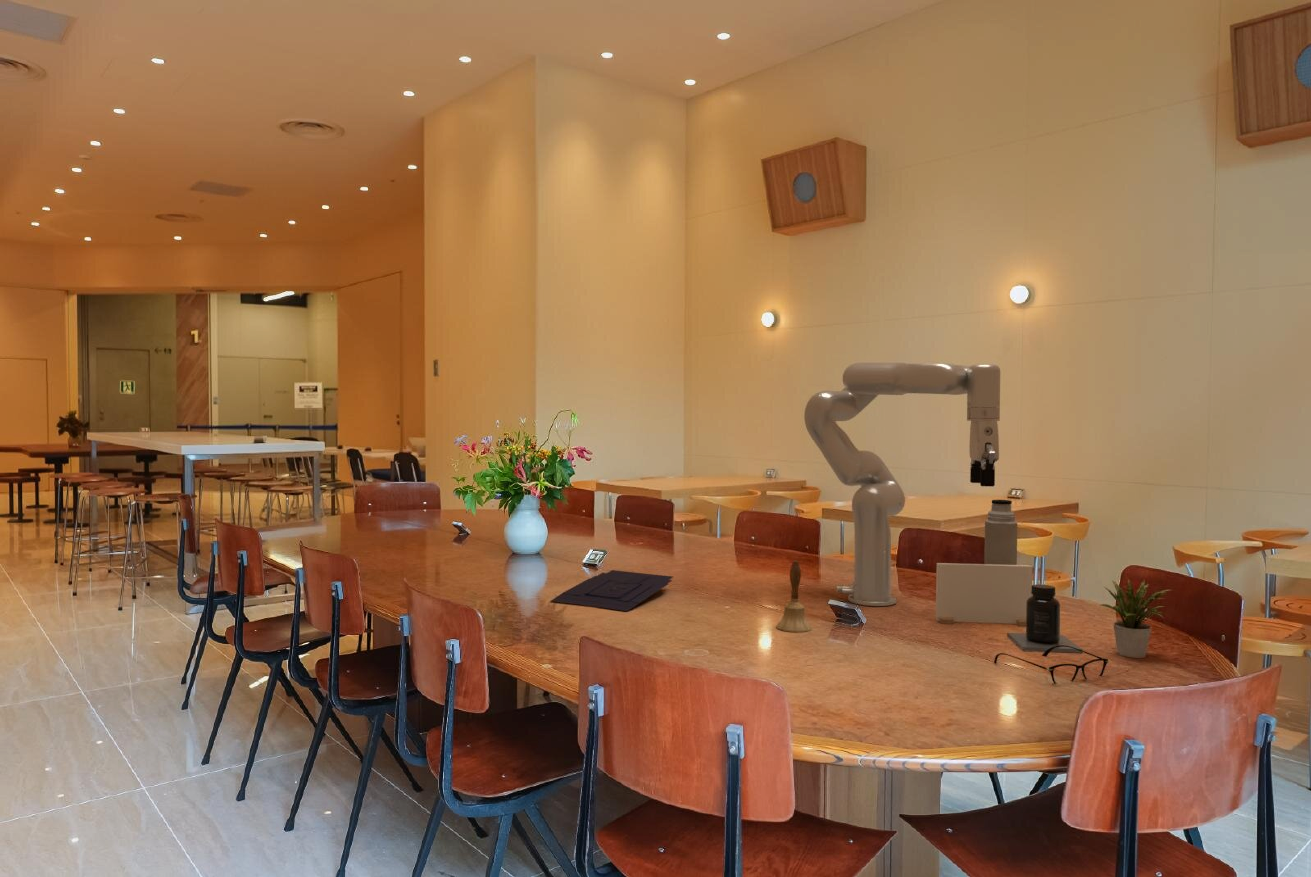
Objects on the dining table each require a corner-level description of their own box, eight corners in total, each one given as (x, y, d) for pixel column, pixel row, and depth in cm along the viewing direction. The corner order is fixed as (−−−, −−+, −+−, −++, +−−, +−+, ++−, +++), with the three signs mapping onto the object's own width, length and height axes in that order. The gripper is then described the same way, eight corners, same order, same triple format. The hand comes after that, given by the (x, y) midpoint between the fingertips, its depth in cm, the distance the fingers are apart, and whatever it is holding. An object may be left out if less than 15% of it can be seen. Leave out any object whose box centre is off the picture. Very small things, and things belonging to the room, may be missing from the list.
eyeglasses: (1049, 688, 159) (1049, 667, 158) (986, 665, 173) (986, 645, 173) (1112, 678, 165) (1113, 657, 165) (1047, 656, 179) (1047, 637, 179)
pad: (1023, 650, 182) (1023, 647, 182) (1007, 636, 194) (1007, 632, 194) (1082, 653, 180) (1082, 649, 180) (1062, 638, 192) (1062, 634, 192)
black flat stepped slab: (680, 586, 242) (679, 574, 241) (628, 621, 216) (627, 607, 215) (607, 578, 253) (606, 566, 253) (549, 611, 227) (548, 597, 227)
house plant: (1172, 670, 168) (1174, 588, 168) (1094, 659, 176) (1095, 581, 175) (1173, 653, 181) (1175, 576, 180) (1100, 643, 188) (1101, 570, 187)
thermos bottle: (979, 601, 229) (981, 498, 228) (1010, 602, 228) (1012, 498, 227) (988, 608, 221) (990, 501, 220) (1020, 609, 220) (1022, 501, 219)
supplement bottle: (1066, 642, 186) (1067, 587, 185) (1045, 646, 183) (1046, 590, 182) (1039, 634, 192) (1040, 582, 192) (1018, 638, 189) (1019, 584, 188)
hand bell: (815, 626, 203) (816, 559, 202) (806, 634, 195) (807, 565, 195) (782, 622, 206) (782, 556, 206) (771, 630, 199) (772, 562, 198)
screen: (939, 623, 205) (939, 565, 205) (934, 617, 211) (934, 561, 211) (1034, 626, 203) (1035, 568, 202) (1026, 620, 208) (1027, 563, 208)
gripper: (1009, 415, 199) (1008, 487, 200) (989, 414, 216) (988, 481, 217) (976, 415, 200) (975, 487, 201) (959, 414, 217) (958, 481, 218)
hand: (982, 484), depth 209 cm, fingers open, 9 cm apart
